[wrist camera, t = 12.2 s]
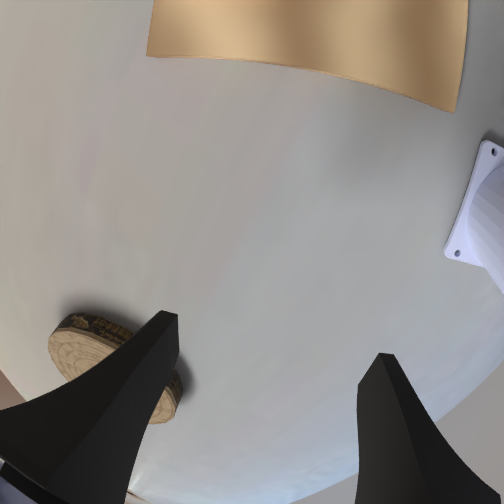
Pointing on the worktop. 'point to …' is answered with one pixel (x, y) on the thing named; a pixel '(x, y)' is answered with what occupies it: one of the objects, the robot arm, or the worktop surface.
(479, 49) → the worktop surface
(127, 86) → the worktop surface
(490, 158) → the robot arm
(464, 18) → the oak board
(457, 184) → the worktop surface
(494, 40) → the worktop surface
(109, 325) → the wood log slice
